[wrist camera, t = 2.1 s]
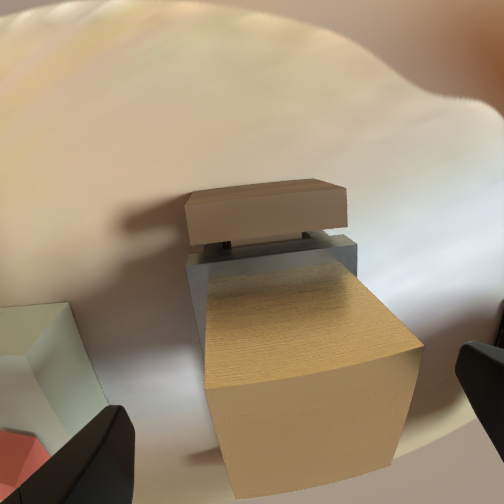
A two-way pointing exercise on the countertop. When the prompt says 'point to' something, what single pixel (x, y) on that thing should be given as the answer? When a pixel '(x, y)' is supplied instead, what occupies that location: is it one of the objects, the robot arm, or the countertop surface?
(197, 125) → the countertop surface
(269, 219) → the brown i-shaped bar
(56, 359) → the cabinet
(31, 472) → the red cube
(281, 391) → the carriage
